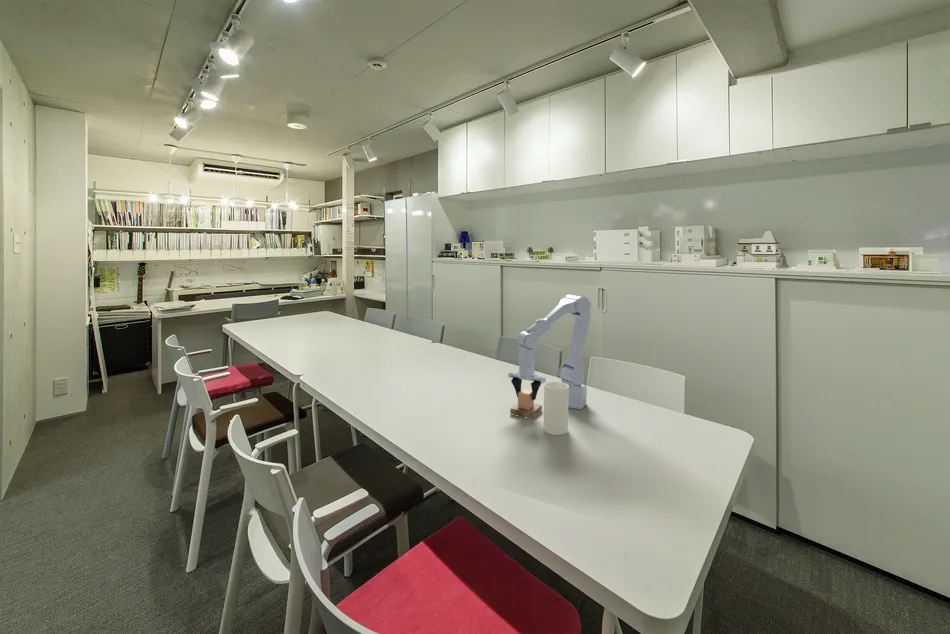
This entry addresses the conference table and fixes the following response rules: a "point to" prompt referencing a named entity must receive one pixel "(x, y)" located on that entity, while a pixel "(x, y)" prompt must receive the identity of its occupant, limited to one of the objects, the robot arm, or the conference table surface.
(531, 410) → the base slab
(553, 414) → the cup
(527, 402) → the block
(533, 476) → the conference table surface
